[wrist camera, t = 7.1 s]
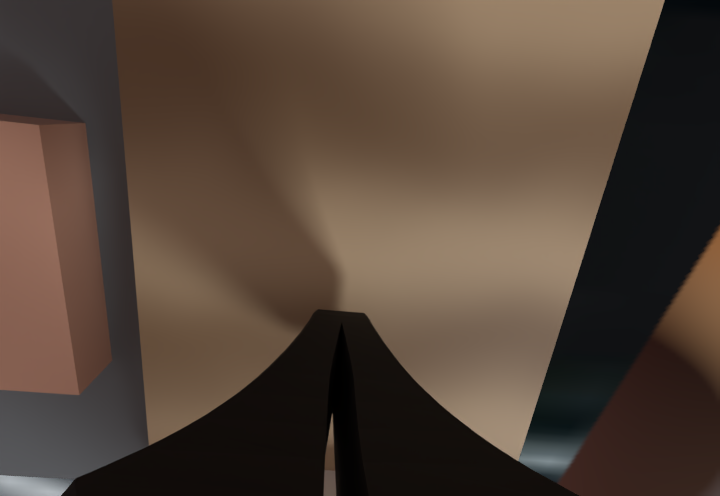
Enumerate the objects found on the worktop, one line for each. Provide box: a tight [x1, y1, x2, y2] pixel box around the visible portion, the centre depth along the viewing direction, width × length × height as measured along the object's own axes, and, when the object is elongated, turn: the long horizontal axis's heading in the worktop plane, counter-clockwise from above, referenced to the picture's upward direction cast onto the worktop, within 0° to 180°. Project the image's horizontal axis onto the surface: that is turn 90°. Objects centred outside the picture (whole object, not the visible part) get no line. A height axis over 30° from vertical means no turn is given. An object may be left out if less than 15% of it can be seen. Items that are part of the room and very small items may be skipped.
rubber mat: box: [0, 0, 149, 479], centre depth 14 cm, size 20×12×1 cm, turn 174°
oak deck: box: [112, 0, 664, 471], centre depth 13 cm, size 20×12×4 cm, turn 174°
